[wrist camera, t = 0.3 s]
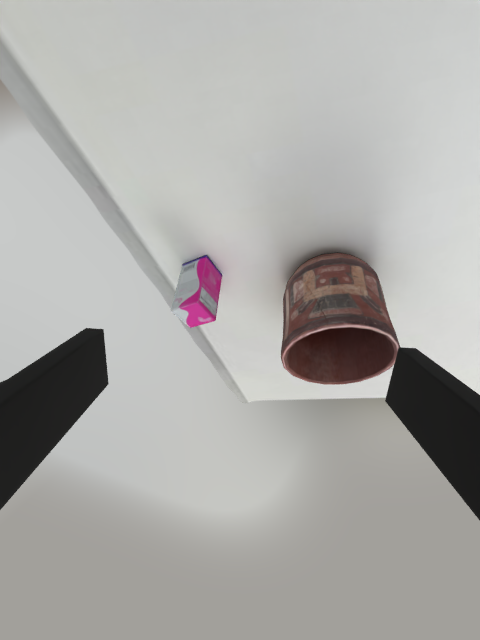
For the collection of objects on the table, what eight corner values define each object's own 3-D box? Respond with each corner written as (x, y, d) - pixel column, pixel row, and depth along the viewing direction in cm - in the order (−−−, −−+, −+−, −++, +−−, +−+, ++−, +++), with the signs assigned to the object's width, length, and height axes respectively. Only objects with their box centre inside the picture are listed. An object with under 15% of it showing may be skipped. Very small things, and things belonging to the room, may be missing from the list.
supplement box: (199, 283, 60) (188, 329, 53) (182, 263, 56) (168, 309, 49) (223, 275, 58) (215, 322, 51) (207, 254, 54) (196, 301, 47)
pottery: (261, 269, 55) (257, 350, 44) (352, 220, 46) (375, 309, 35) (308, 317, 66) (314, 392, 55) (391, 285, 56) (417, 370, 45)
